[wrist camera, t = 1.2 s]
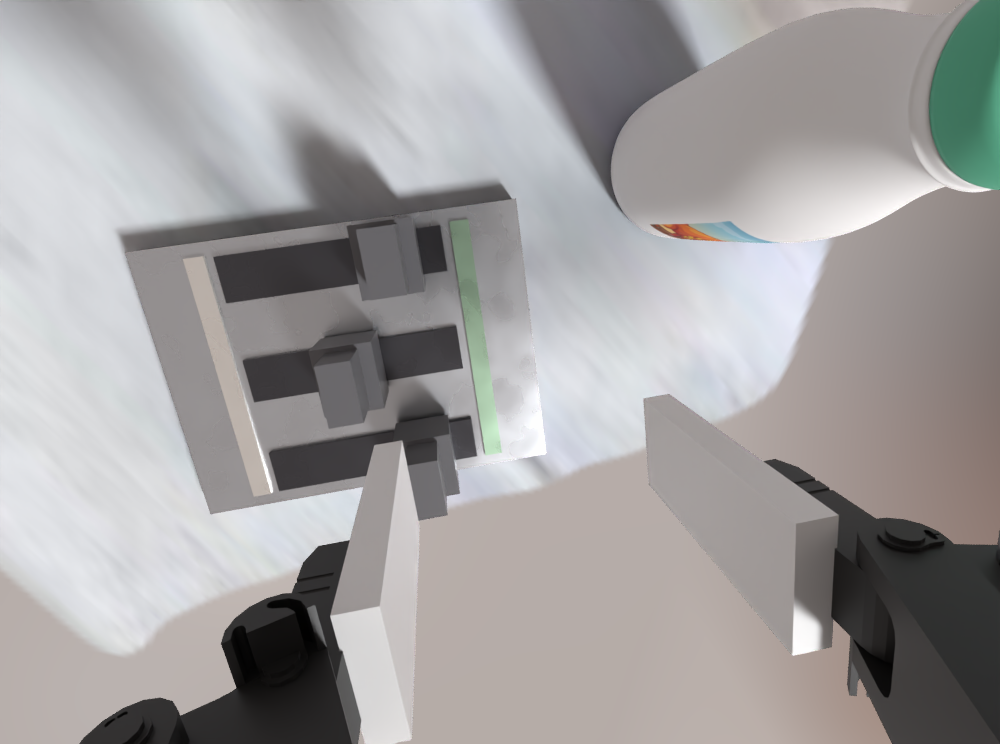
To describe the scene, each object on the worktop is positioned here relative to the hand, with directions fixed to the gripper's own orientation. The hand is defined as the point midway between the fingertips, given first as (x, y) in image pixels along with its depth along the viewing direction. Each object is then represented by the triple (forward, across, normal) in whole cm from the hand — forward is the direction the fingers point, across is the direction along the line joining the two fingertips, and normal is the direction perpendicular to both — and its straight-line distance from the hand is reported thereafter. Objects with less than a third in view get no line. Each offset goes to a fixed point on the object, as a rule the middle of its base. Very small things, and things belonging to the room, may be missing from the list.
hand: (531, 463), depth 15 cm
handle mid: (+15, -7, 0) cm, 17 cm away
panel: (+17, -7, 0) cm, 18 cm away
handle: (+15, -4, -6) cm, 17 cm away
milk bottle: (+17, +12, +8) cm, 23 cm away
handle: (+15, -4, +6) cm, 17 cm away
